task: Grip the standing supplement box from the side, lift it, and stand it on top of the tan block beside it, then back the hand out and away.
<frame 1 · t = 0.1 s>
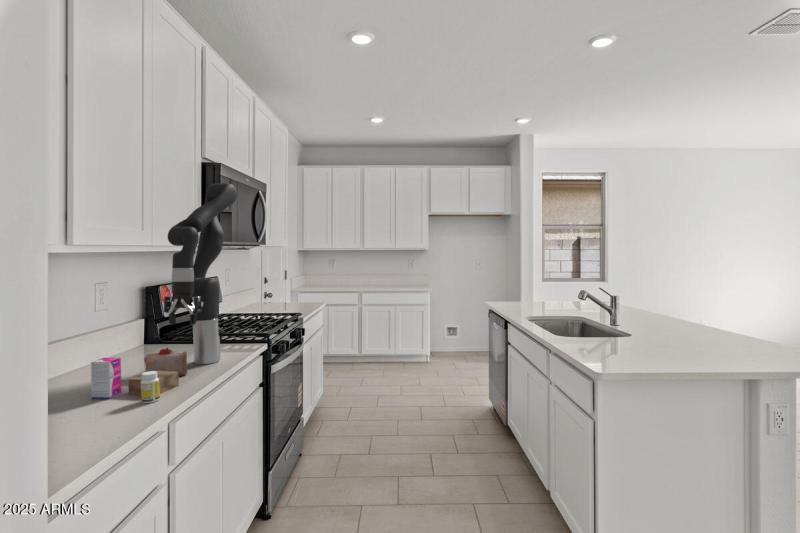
hand: (182, 324, 166), 17 cm above the table, tool pointing down, fingers open, 8 cm apart
supplement box: (107, 396, 138), on the table
food item: (166, 376, 160), on the table
tan block: (154, 390, 144), on the table
supplement bottle: (150, 401, 133), on the table
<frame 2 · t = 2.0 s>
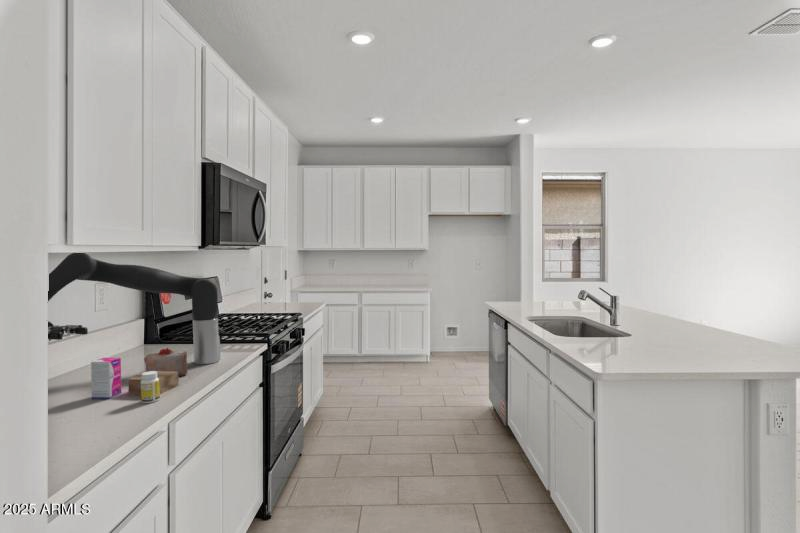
hand: (74, 333, 140), 19 cm above the table, tool horizontal, fingers open, 8 cm apart
nothing on the table moved.
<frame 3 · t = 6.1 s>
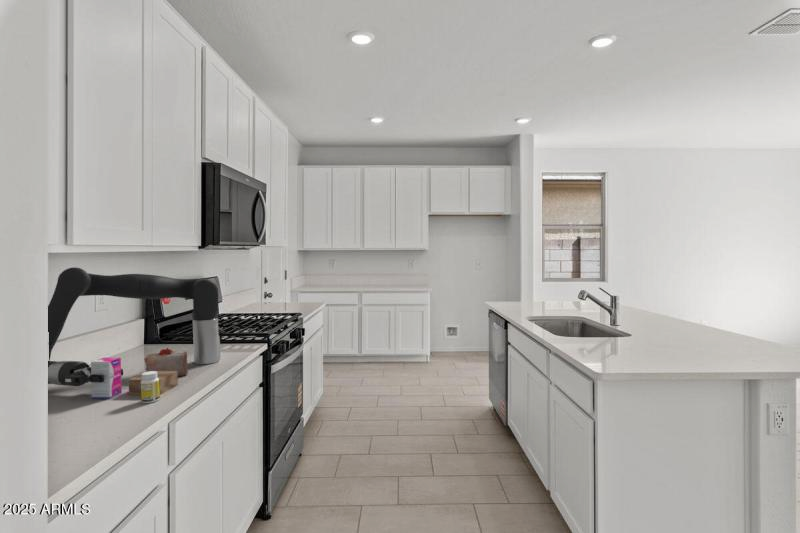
hand: (112, 375, 138), 7 cm above the table, tool horizontal, fingers closed on supplement box, 6 cm apart
supplement box: (107, 396, 138), on the table, touching gripper
everything else where it was.
when the fingers open (13 cm above the table, at t = 10.4 s): supplement box drops 2 cm, resting on tan block.
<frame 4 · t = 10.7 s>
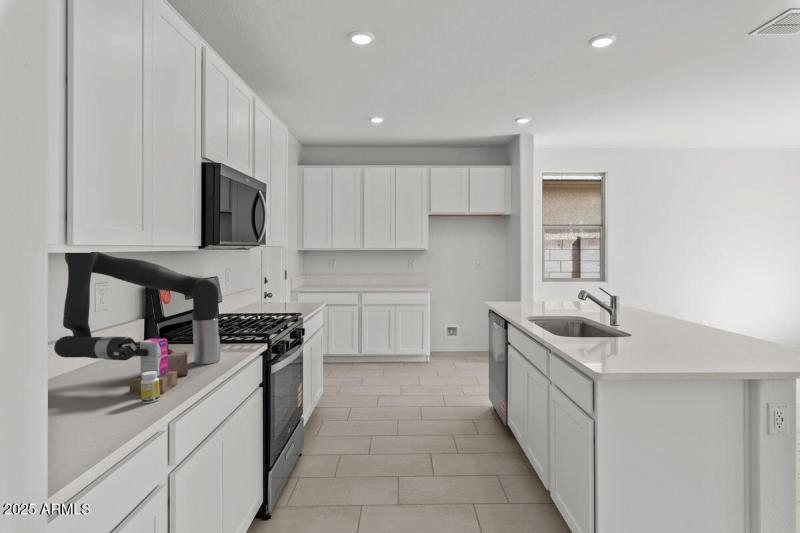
hand: (158, 349, 143), 13 cm above the table, tool horizontal, fingers open, 8 cm apart
supplement box: (155, 375, 144), point 4 cm above the table, touching tan block
tan block: (154, 391, 144), on the table, touching supplement box
everything else where it was.
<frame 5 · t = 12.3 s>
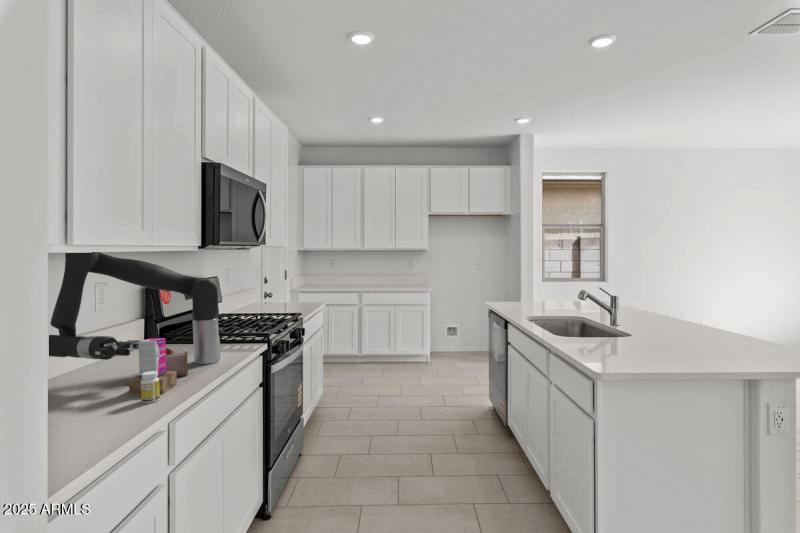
hand: (139, 349, 145), 13 cm above the table, tool horizontal, fingers open, 8 cm apart
nothing on the table moved.
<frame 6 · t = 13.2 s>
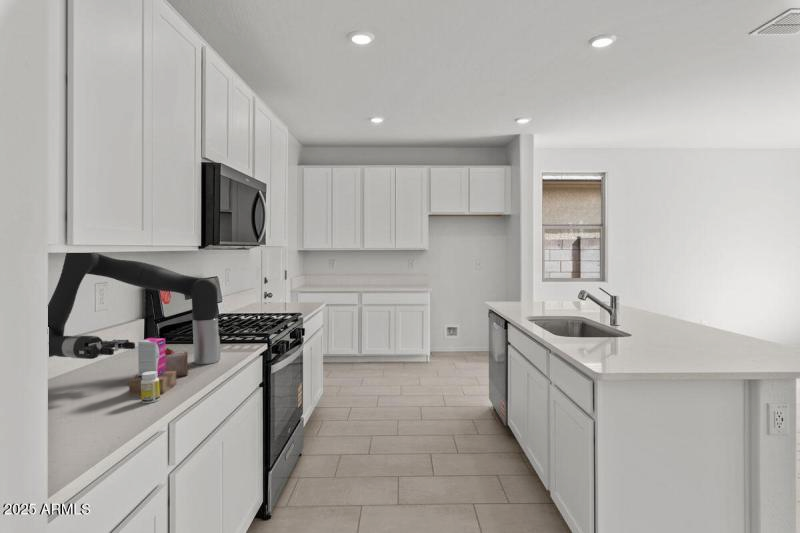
hand: (123, 348, 146), 13 cm above the table, tool horizontal, fingers open, 8 cm apart
nothing on the table moved.
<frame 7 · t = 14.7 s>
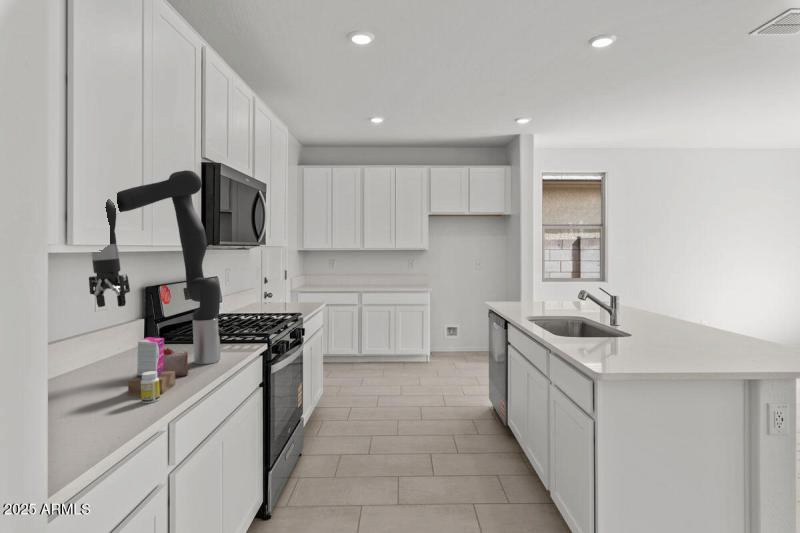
hand: (111, 306, 150), 26 cm above the table, tool pointing down, fingers open, 8 cm apart
supplement box: (150, 375, 144), point 5 cm above the table
tan block: (153, 391, 144), on the table
everything else where it was.
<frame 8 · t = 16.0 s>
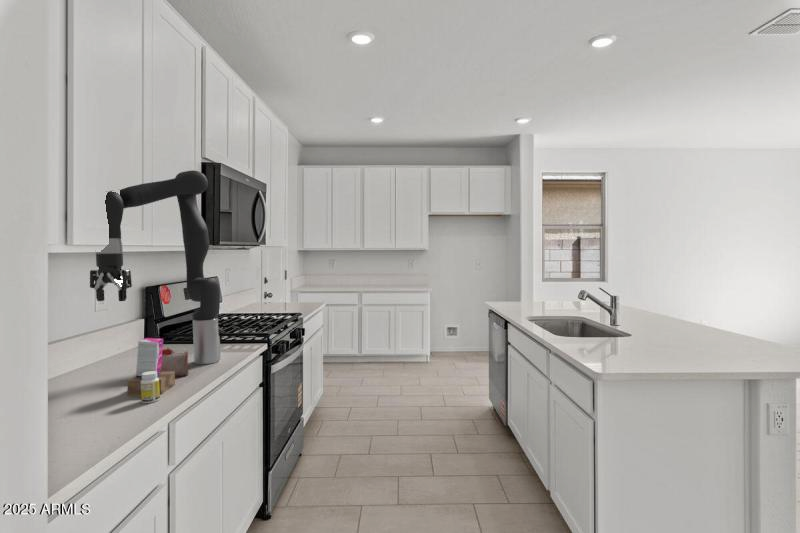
hand: (111, 301, 150), 28 cm above the table, tool pointing down, fingers open, 8 cm apart
nothing on the table moved.
at the end: supplement box 0.9 cm off-centre on the tan block, point 5.1 cm above the tan block's base; supplement box tilted 4°; the gripper is holding nothing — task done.
